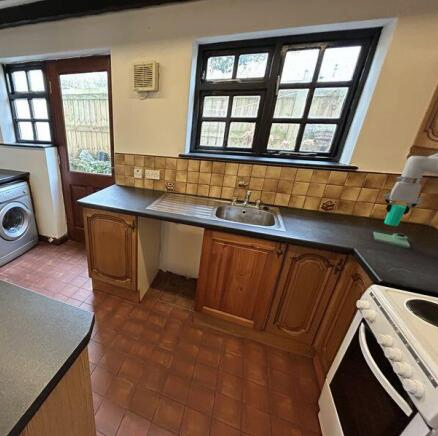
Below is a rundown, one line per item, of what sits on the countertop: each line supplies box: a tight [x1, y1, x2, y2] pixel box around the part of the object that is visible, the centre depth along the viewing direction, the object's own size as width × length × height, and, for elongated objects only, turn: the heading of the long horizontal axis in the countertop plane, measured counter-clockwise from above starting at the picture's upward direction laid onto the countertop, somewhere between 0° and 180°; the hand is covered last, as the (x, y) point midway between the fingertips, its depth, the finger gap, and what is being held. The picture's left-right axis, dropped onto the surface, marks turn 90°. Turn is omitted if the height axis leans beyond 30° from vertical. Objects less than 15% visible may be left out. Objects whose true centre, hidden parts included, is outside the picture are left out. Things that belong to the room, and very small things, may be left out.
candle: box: [383, 203, 406, 227], centre depth 133 cm, size 6×6×12 cm
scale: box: [372, 231, 411, 249], centre depth 138 cm, size 14×12×3 cm
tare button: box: [396, 232, 406, 237], centre depth 138 cm, size 3×3×2 cm
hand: (396, 212), depth 133 cm, fingers closed on candle, 6 cm apart
